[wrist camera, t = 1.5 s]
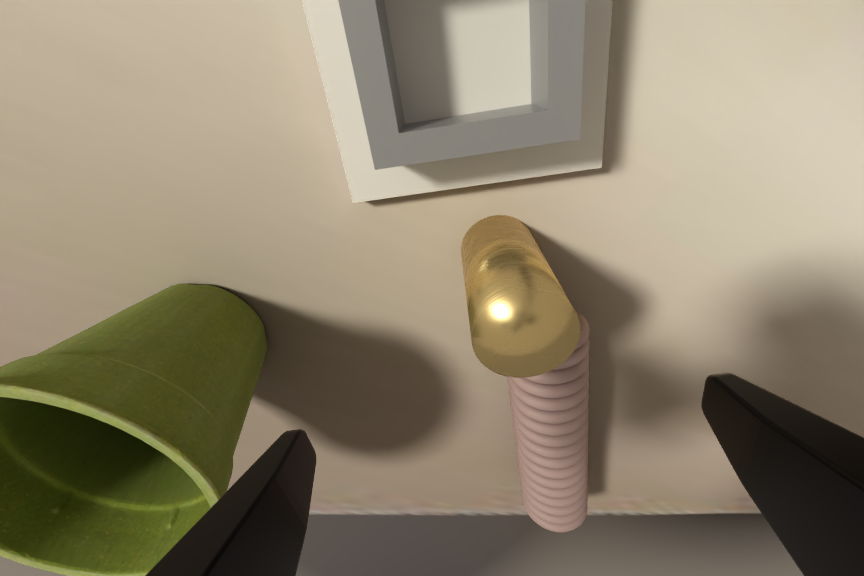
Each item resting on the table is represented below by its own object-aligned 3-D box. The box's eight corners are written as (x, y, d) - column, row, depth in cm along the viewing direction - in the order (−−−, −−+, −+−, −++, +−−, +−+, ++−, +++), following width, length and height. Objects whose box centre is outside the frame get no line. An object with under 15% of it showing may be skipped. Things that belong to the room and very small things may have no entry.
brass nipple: (533, 210, 20) (582, 283, 13) (534, 277, 22) (578, 372, 15) (457, 220, 21) (466, 297, 14) (465, 285, 22) (476, 382, 15)
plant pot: (284, 418, 28) (200, 604, 18) (110, 364, 26) (-91, 543, 16) (331, 290, 23) (250, 456, 13) (118, 208, 21) (-177, 335, 11)
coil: (500, 341, 19) (525, 538, 28) (600, 334, 18) (594, 540, 27) (498, 293, 23) (520, 478, 32) (579, 285, 22) (580, 478, 31)
